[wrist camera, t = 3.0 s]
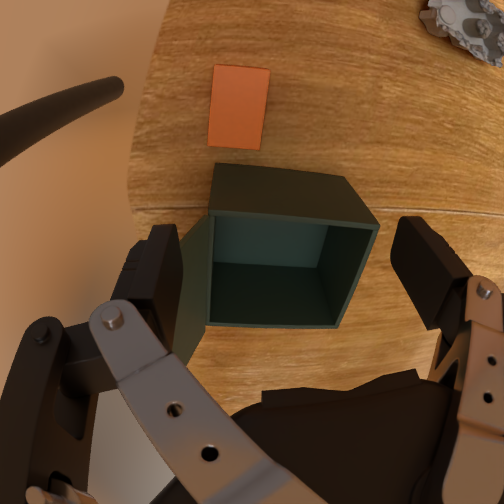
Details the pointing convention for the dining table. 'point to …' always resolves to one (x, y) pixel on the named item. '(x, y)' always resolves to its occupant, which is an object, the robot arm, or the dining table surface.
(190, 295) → the flap
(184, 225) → the dining table surface
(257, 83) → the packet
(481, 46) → the egg carton
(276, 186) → the dark green box
